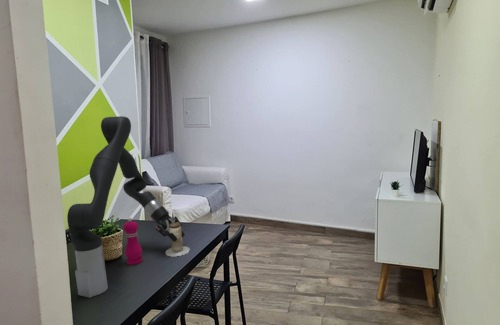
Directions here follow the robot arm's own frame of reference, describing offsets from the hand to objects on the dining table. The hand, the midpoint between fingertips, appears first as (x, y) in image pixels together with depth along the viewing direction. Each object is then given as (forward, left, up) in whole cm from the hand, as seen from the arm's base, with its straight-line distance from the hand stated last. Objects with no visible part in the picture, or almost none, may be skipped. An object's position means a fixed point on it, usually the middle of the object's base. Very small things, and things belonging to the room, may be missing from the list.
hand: (179, 238), depth 161 cm
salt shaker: (0, +2, -5) cm, 6 cm away
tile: (0, +2, -7) cm, 7 cm away
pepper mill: (-15, +14, -7) cm, 22 cm away
